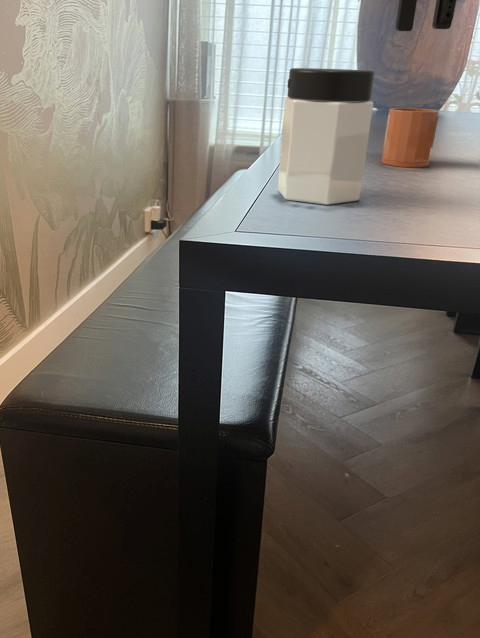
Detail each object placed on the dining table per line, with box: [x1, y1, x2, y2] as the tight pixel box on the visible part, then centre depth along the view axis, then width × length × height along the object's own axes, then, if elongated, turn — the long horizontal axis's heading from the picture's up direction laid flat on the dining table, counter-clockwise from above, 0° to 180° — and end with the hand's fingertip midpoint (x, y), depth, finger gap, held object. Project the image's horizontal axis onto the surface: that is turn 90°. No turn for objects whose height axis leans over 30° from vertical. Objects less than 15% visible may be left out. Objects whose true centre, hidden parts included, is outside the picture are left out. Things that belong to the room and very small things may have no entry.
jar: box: [277, 67, 375, 206], centre depth 61 cm, size 9×8×12 cm
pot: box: [381, 107, 440, 168], centre depth 84 cm, size 6×6×7 cm
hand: (421, 30), depth 78 cm, fingers open, 8 cm apart
